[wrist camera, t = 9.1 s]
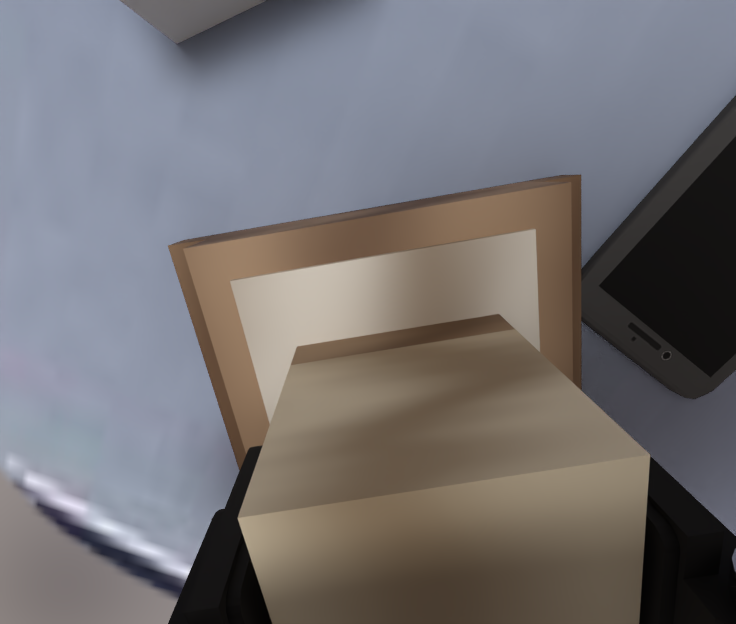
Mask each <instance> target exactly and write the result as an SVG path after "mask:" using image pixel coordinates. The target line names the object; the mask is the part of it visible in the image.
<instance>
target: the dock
mask: <svg viewBox="0 0 736 624" xmlns="http://www.w3.org/2000/svg"><path fill="white" fill-rule="evenodd" d="M168 247H169V251H170V254H171V257H172V260H173V263H174V266H175V269H176V273H177V276H178V279H179V282H180V285H181V288H182V291H183V295H184V298H185V301H186V304H187V307H188V310H189V313H190V317H191V320H192V323H193V326H194V329H195V332H196V335H197V339H198V342H199V345H200V348H201V351H202V354H203V357H204V361H205V364H206V367H207V370H208V373H209V376H210V379H211V383H212V386H213V389H214V392H215V395H216V398H217V401H218V404H219V408H220V411H221V414H222V417H223V420H224V423H225V426H226V430H227V433H228V436H229V439H230V442H231V445H232V448H233V452H234V455H235V458H236V461H237V464H238V467H239V470H240V469H241V466H242V464H243V461H244V459H245V456H246V454H247V451H248V449H249V448H250V447H254V446H261V445H263V443H264V440H265V437H266V434H267V432H268V429H269V426H270V423H271V420H272V417H273V414H274V411H275V408H276V406H277V403H278V400H279V397H280V394H281V391H282V388H283V385H284V382H285V380H286V377H287V374H288V371H289V368H290V365H291V362H292V359H293V356H294V354H295V351H296V348H297V346H303V345H309V344H315V343H322V342H328V341H334V340H340V339H346V338H352V337H359V336H365V335H371V334H377V333H383V332H389V331H396V330H402V329H408V328H414V327H420V326H427V325H433V324H439V323H445V322H451V321H457V320H464V319H470V318H476V317H482V316H488V315H494V314H500V315H501V316H502V317H503V318H504V319H505V320H506V321H507V322H508V323H509V324H510V325H511V326H512V327H514V328H515V329H516V330H517V331H518V332H519V333H520V334H521V335H522V336H523V337H524V338H525V339H526V340H528V341H529V342H530V343H531V344H532V345H533V346H534V347H535V348H536V349H537V350H538V351H539V352H540V353H542V354H543V355H544V356H545V357H546V358H547V359H548V360H549V361H550V362H551V363H552V364H553V365H554V366H555V367H557V368H558V369H559V370H560V371H561V372H562V373H563V374H564V375H565V376H566V377H567V378H568V379H569V380H571V381H572V382H573V383H574V384H575V385H576V386H577V387H578V388H579V389H580V390H581V175H559V176H554V177H548V178H542V179H536V180H530V181H525V182H519V183H513V184H507V185H501V186H495V187H490V188H484V189H478V190H472V191H466V192H461V193H455V194H449V195H443V196H437V197H432V198H426V199H420V200H414V201H408V202H403V203H397V204H391V205H385V206H379V207H374V208H368V209H362V210H356V211H350V212H344V213H339V214H333V215H327V216H321V217H315V218H310V219H304V220H298V221H292V222H286V223H281V224H275V225H269V226H263V227H257V228H252V229H246V230H240V231H234V232H228V233H222V234H217V235H211V236H205V237H199V238H193V239H188V240H183V241H180V242H177V243H174V244H172V245H169V246H168Z"/></svg>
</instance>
